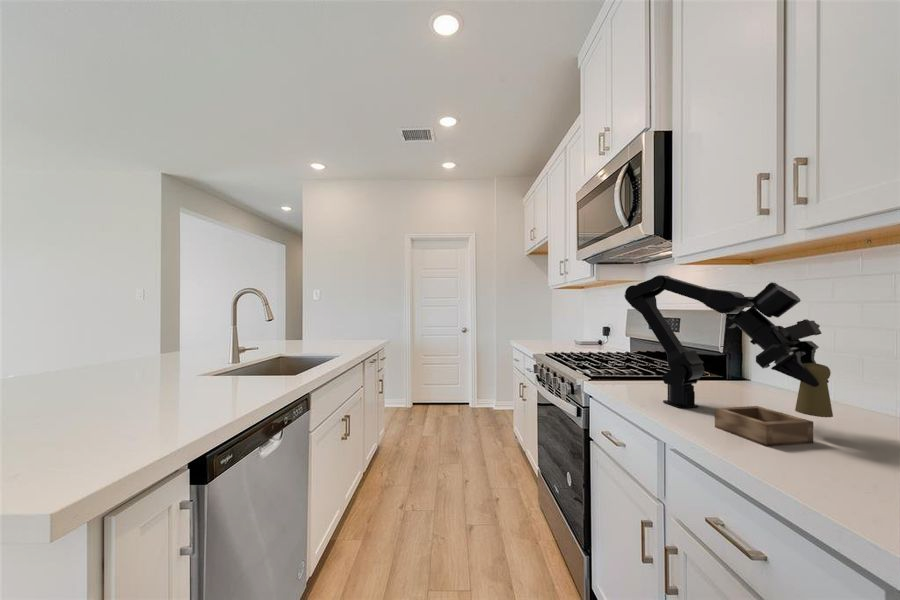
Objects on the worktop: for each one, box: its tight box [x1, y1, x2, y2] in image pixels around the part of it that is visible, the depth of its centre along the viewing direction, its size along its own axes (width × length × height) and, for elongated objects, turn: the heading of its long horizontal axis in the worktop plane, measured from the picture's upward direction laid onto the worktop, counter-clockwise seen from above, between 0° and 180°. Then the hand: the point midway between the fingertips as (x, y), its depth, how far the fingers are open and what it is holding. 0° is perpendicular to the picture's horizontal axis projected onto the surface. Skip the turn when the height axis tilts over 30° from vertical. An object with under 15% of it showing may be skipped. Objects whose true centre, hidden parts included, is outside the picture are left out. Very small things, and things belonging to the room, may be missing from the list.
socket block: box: [714, 405, 814, 447], centre depth 83 cm, size 12×12×4 cm
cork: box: [794, 362, 834, 418], centre depth 82 cm, size 6×6×11 cm
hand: (822, 384), depth 80 cm, fingers closed on cork, 5 cm apart
